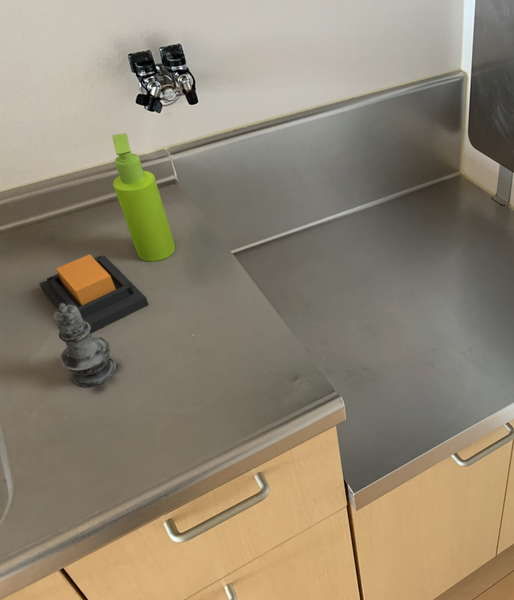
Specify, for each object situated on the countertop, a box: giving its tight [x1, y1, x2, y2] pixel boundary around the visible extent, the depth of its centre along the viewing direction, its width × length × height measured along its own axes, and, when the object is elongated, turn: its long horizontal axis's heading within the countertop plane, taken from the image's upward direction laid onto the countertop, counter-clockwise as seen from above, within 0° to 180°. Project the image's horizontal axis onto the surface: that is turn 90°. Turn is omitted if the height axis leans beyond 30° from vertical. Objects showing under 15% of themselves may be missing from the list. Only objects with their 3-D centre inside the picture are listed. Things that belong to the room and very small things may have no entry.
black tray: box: [39, 254, 149, 334], centre depth 90 cm, size 10×14×3 cm
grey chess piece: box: [53, 303, 117, 388], centre depth 76 cm, size 6×6×12 cm
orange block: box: [55, 254, 116, 306], centre depth 89 cm, size 5×7×4 cm
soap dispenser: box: [111, 132, 176, 263], centre depth 93 cm, size 6×7×20 cm
